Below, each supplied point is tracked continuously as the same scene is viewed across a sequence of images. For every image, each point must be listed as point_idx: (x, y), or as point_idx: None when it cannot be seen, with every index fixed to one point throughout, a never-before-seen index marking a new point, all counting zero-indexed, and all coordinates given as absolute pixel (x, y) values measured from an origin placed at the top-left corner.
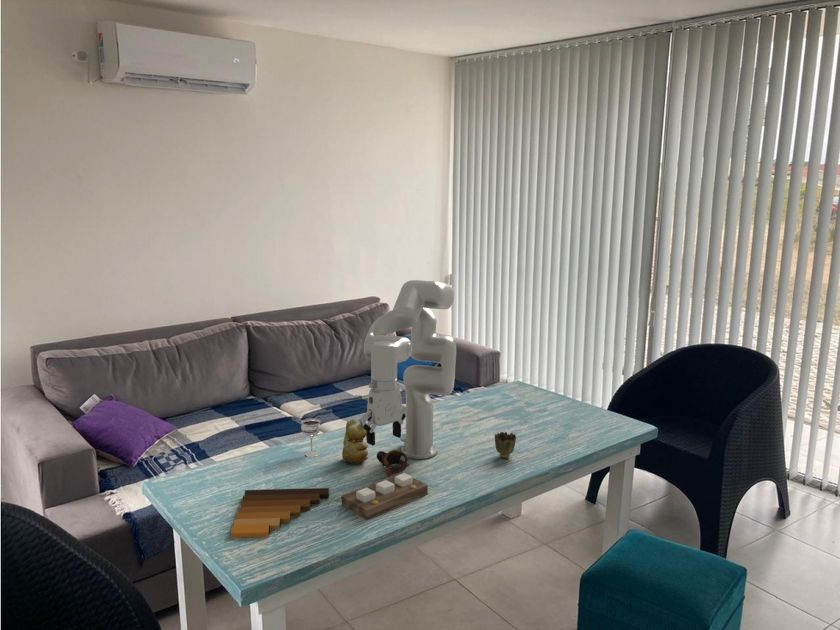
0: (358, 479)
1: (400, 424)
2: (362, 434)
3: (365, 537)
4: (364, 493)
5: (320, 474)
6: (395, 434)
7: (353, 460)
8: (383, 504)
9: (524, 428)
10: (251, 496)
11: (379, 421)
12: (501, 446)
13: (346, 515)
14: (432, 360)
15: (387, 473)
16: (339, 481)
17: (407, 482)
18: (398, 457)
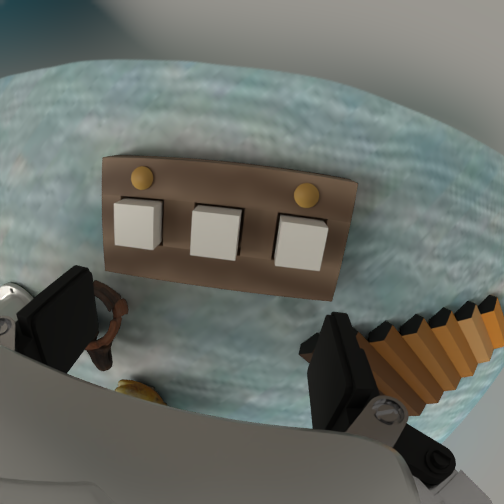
0: (192, 345)
1: (16, 327)
2: None
3: (414, 124)
4: (313, 241)
5: (238, 407)
6: (88, 311)
7: (155, 394)
8: (289, 171)
9: None
10: (415, 408)
11: (372, 489)
12: None
13: (362, 239)
14: None
15: (125, 307)
16: (233, 367)
17: (140, 202)
18: None
